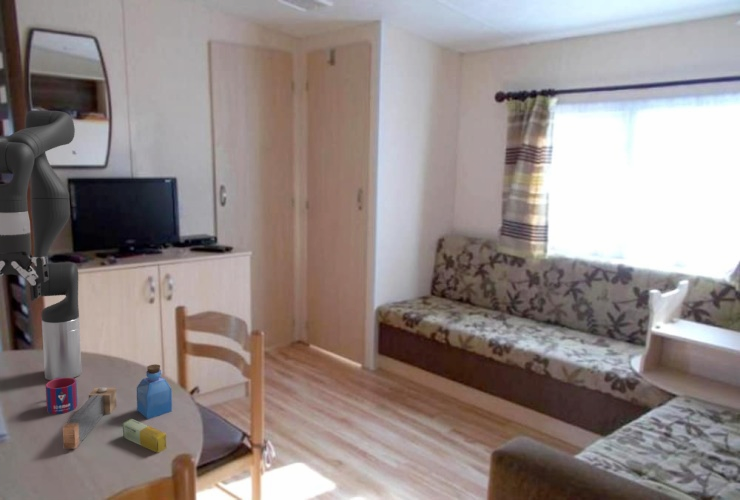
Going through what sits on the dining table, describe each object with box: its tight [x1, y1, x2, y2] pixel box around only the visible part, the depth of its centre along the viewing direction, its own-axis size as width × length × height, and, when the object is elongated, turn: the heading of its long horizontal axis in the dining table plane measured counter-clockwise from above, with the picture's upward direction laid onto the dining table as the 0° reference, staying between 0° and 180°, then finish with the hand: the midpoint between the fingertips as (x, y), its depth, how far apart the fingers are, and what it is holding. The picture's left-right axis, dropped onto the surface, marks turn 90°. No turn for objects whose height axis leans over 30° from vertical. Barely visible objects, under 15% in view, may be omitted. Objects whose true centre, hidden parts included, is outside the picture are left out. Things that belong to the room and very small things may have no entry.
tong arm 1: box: [62, 395, 98, 450], centre depth 122 cm, size 16×1×5 cm, turn 7°
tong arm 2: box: [69, 395, 105, 450], centre depth 122 cm, size 16×1×5 cm, turn 6°
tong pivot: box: [88, 387, 117, 415], centre depth 132 cm, size 4×5×6 cm
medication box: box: [122, 418, 167, 454], centre depth 119 cm, size 12×3×4 cm, turn 62°
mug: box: [45, 377, 78, 415], centre depth 134 cm, size 7×10×7 cm
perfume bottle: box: [136, 363, 173, 420], centre depth 133 cm, size 6×6×12 cm
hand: (15, 299), depth 122 cm, fingers open, 8 cm apart
